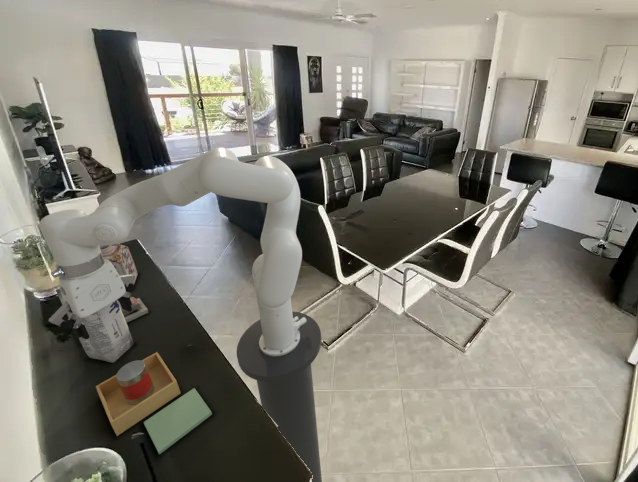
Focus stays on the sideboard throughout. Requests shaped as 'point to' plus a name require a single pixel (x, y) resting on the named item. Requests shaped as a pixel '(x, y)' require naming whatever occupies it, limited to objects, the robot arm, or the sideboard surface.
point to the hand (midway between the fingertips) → (106, 322)
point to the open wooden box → (128, 414)
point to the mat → (177, 420)
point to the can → (135, 382)
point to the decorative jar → (120, 259)
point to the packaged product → (134, 310)
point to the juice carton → (105, 333)
